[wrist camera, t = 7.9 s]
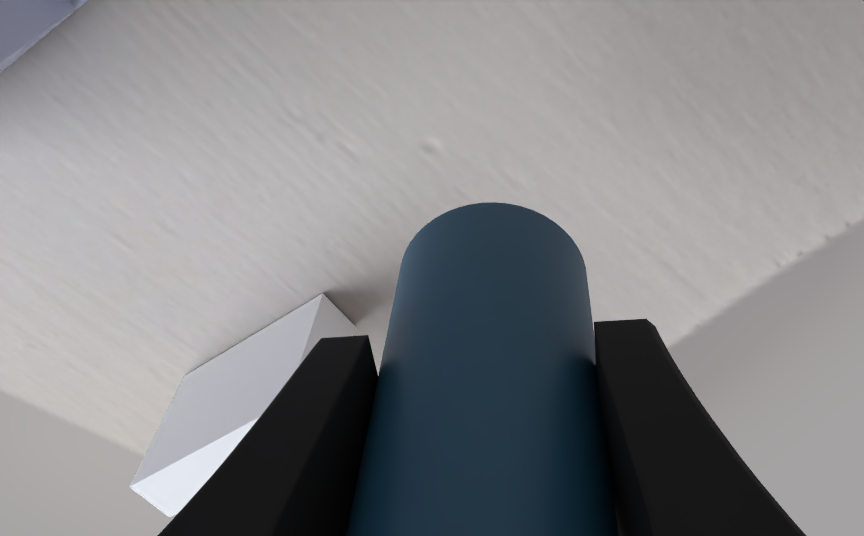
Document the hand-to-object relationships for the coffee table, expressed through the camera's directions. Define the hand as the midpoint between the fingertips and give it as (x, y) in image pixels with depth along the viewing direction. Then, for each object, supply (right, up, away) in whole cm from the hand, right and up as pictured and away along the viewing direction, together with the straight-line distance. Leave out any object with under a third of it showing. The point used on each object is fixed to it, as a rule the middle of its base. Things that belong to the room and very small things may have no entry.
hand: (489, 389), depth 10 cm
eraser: (-5, 0, +10) cm, 11 cm away
